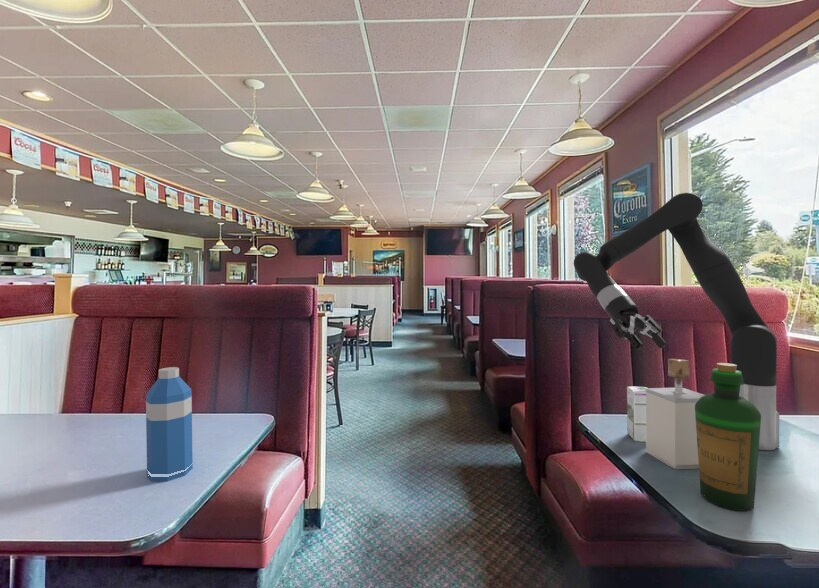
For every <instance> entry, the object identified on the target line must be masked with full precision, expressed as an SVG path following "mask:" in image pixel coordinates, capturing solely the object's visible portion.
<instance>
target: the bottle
mask: <svg viewBox="0 0 819 588" xmlns="http://www.w3.org/2000/svg"><path fill="white" fill-rule="evenodd" d="M716 367H717V368H712V371H711V375H710V379H709V381H710V382H713V390H714V392H710V393H707V394H704V395H705V396H702V397H701V398H700V399H699V400H698V401H697V402H696V404H695V417H696V432H697V447H698V462H699V468H698V472H699V473H698V475H699V476H698V477H699V489H700V495H702V497H703V498H705V499H706V500H707V501H709V502H711V503H713V504H715V505H717V506H719V507H722V508H726V509H728V510H734V511H749V510H751V509H754V507H755V495H756V487H757V486H756V485H757V472H758V460H759V450H758V449H759V437H760V424H761V413H760V412H759V410H758V409H757V408H756V406H755V405H754V404H753V403H751V402H750V401H748V400H747V399H745V398H743V397H741V396H739V393H740V385H744V381H743V377H742V373H741V372H740V371H737V370H736V368H737V365H735V364H731V363H730V362H729V363H728V362H717V363H716Z"/></svg>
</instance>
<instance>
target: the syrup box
mask: <svg viewBox="0 0 819 588" xmlns="http://www.w3.org/2000/svg"><path fill="white" fill-rule="evenodd" d="M646 388H648V387H646V386H640V385H639V386H636V385H634V386H633V385H631V386H626V398H627V399H626V407H627V409H626V410H627V411H626V412H627V413H626V414H627V415H626V419H627V425H626V426H627V435H628V436H629V437H630V438H631V439H632V440H633V441H634V442H640V443H646Z"/></svg>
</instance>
